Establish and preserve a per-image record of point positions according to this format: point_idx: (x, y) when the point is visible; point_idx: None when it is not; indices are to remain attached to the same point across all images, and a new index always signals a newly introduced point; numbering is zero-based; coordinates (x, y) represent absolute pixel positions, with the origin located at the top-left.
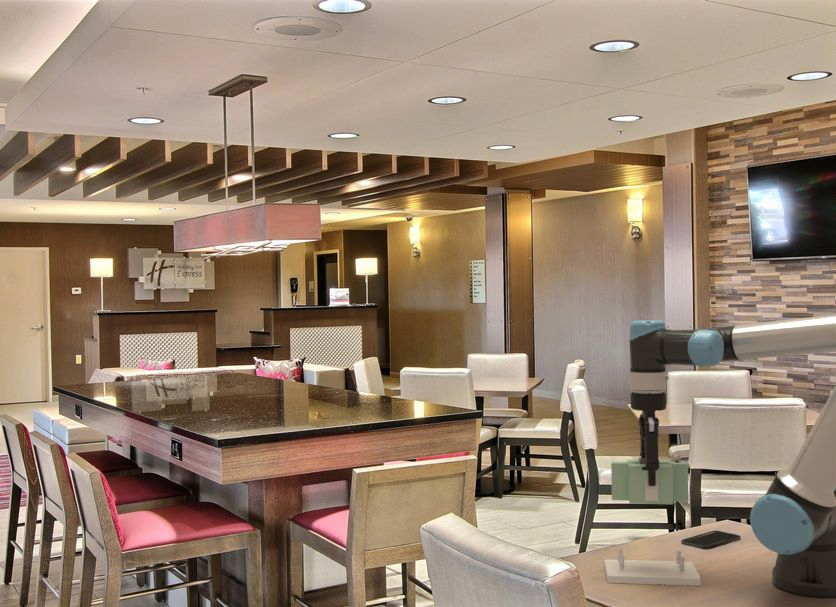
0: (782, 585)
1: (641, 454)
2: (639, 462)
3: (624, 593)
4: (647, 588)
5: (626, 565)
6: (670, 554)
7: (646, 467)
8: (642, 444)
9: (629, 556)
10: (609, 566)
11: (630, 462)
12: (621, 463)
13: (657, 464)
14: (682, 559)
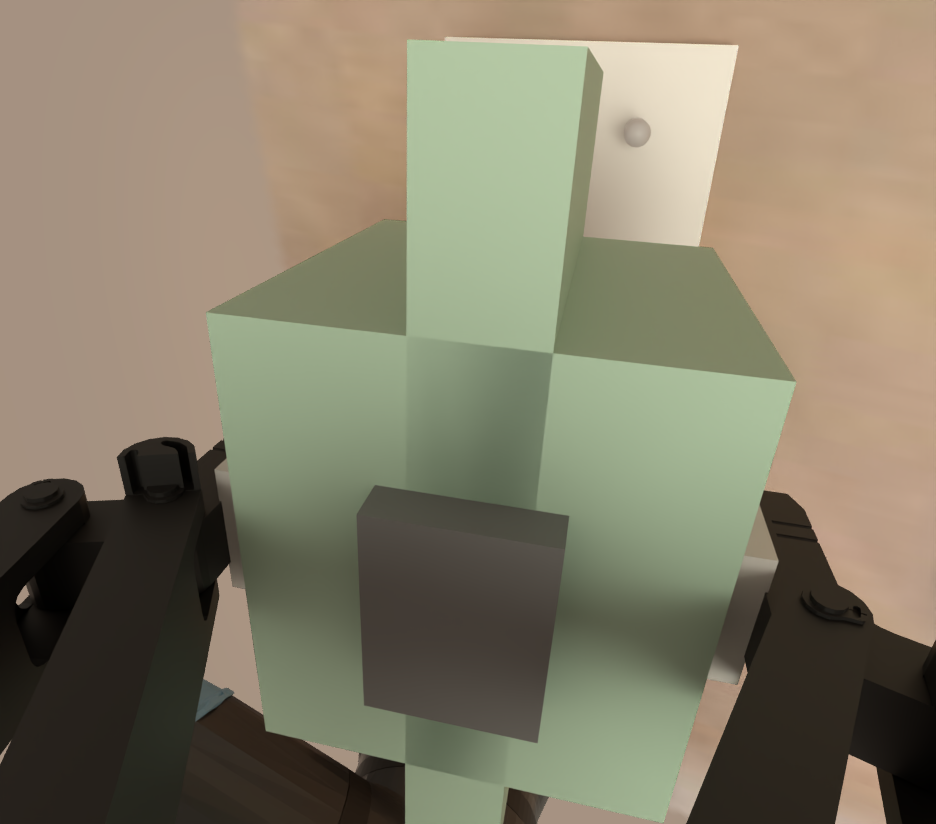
0: None
1: (840, 655)
2: (494, 504)
3: (322, 107)
4: (397, 217)
5: (616, 160)
6: (895, 415)
7: (33, 483)
8: (690, 813)
9: (902, 213)
10: (601, 63)
11: (495, 386)
12: (408, 229)
13: (28, 608)
14: None
